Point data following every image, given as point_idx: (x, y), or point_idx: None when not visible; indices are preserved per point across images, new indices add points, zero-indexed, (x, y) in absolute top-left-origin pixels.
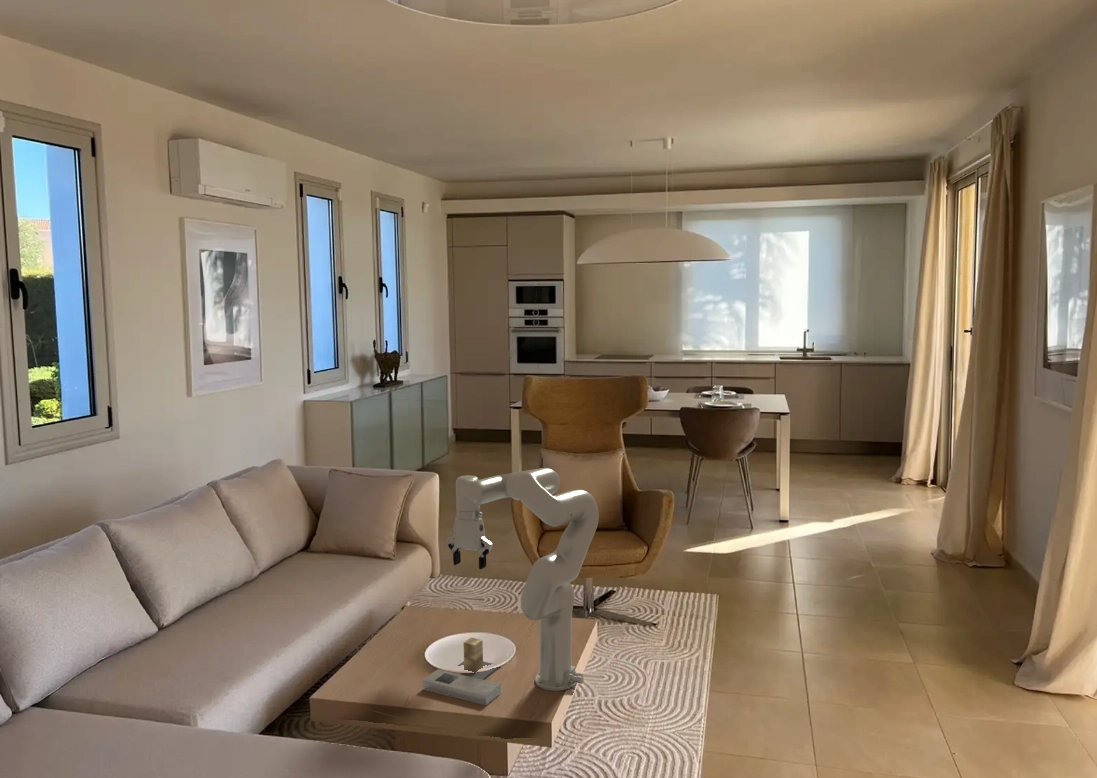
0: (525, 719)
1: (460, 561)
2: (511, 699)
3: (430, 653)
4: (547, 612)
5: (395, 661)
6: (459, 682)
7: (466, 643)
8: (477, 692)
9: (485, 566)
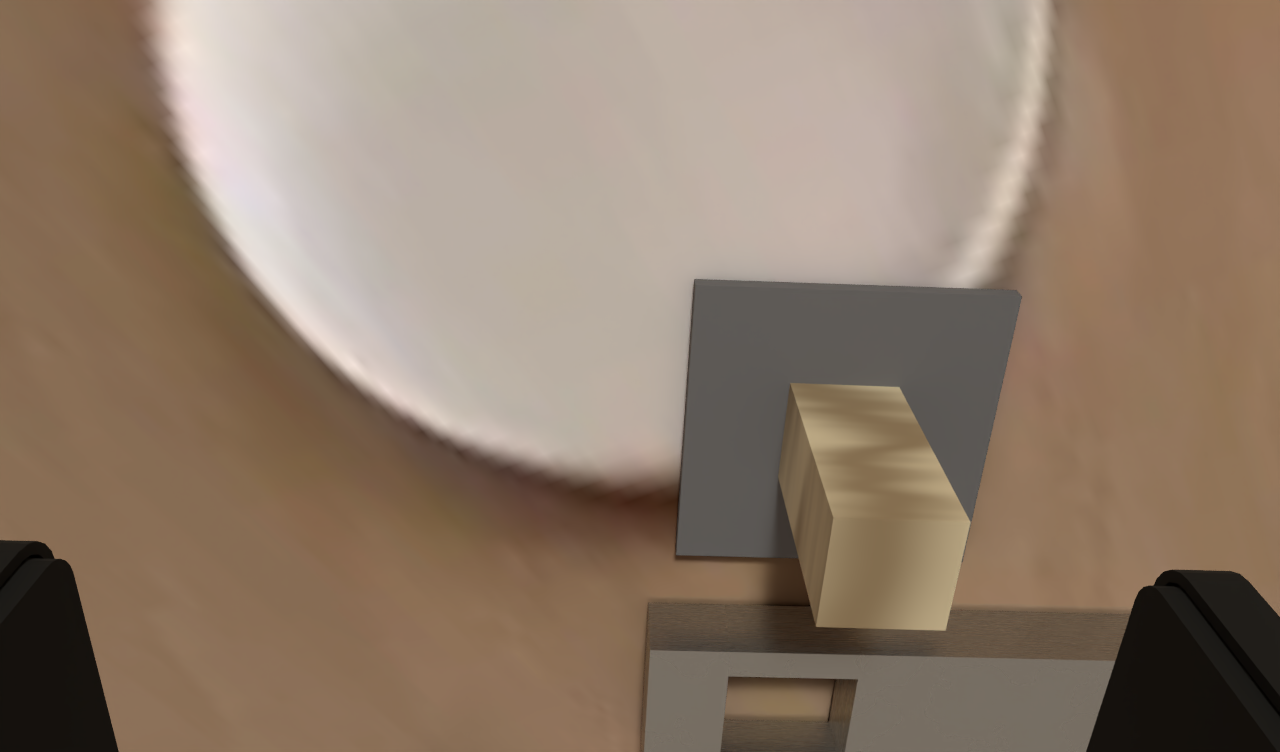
0: None
1: (47, 586)
2: None
3: (313, 283)
4: None
5: (174, 500)
6: (895, 737)
7: (849, 625)
8: None
9: (1225, 591)
